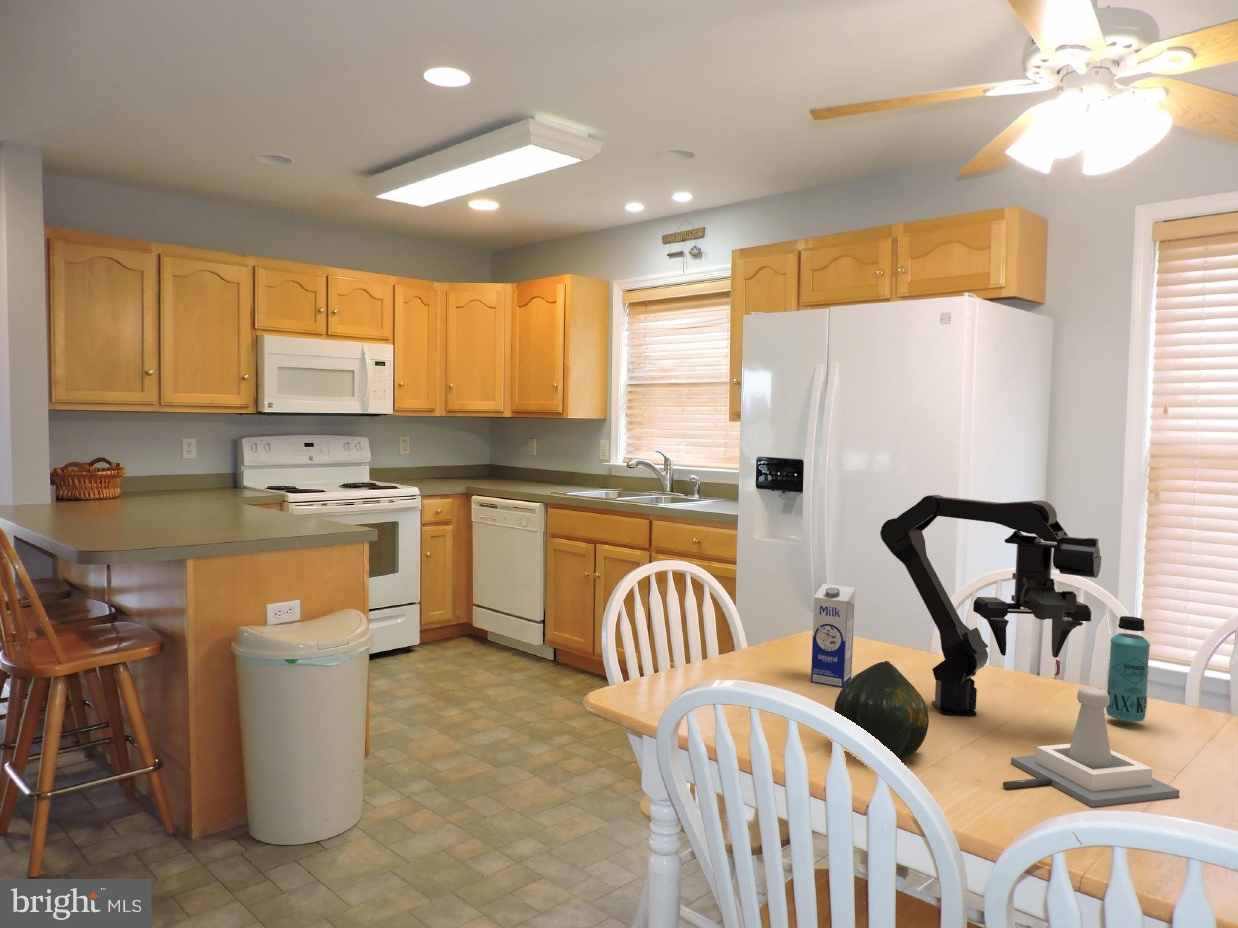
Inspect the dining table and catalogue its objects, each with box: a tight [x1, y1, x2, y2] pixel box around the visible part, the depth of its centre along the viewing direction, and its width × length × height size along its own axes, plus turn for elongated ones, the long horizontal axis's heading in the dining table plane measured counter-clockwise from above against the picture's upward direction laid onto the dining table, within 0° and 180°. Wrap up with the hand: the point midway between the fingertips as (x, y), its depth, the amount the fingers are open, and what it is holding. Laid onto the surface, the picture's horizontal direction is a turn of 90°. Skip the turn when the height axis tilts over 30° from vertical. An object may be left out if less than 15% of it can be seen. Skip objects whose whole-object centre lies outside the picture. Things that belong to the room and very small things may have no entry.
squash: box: [833, 660, 930, 758], centre depth 140 cm, size 14×15×15 cm
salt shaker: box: [1069, 686, 1112, 770], centre depth 130 cm, size 6×6×13 cm
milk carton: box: [810, 583, 856, 689], centre depth 178 cm, size 7×7×20 cm
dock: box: [1002, 743, 1180, 808], centre depth 129 cm, size 24×16×4 cm, turn 106°
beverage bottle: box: [1104, 615, 1151, 723], centre depth 156 cm, size 6×7×20 cm
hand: (1029, 656), depth 153 cm, fingers open, 9 cm apart
